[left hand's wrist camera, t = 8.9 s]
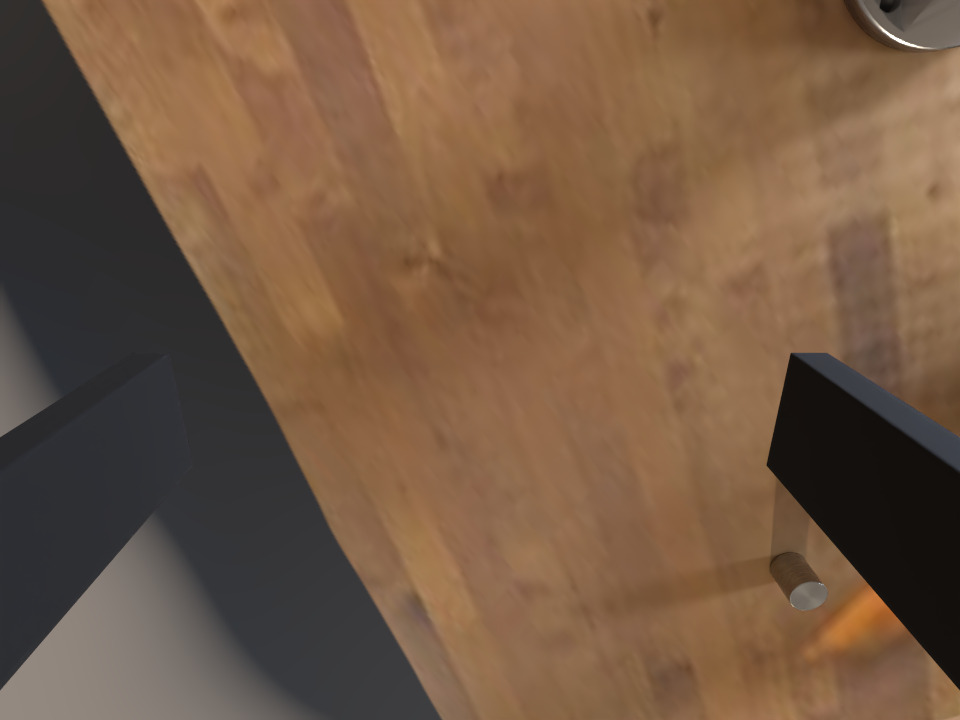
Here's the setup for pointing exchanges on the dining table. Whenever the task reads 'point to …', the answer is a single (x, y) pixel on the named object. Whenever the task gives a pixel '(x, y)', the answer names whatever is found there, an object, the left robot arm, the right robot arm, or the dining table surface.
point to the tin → (798, 581)
